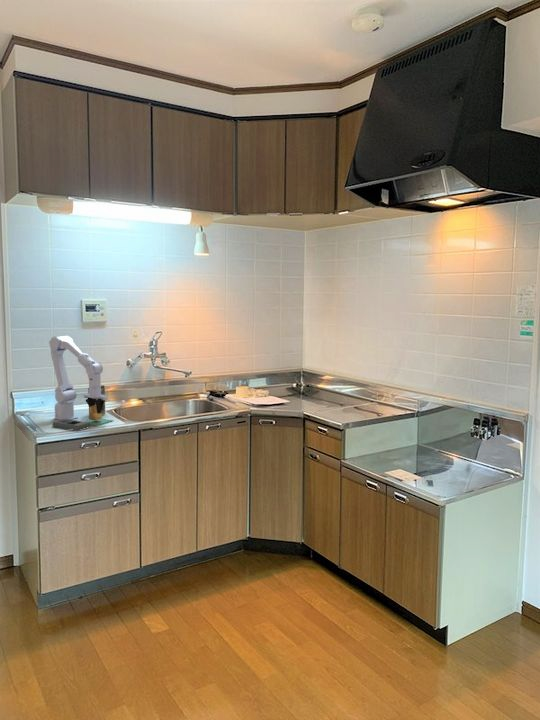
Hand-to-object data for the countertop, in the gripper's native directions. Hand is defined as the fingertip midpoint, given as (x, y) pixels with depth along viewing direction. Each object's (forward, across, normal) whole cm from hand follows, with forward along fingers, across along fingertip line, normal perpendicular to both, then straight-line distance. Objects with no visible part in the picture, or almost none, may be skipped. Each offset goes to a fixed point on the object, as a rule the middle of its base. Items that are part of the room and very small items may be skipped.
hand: (96, 412), depth 283 cm
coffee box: (+5, -11, +12) cm, 17 cm away
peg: (+3, 0, 0) cm, 4 cm away
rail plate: (+5, -4, -13) cm, 15 cm away
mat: (+5, 0, 0) cm, 5 cm away
